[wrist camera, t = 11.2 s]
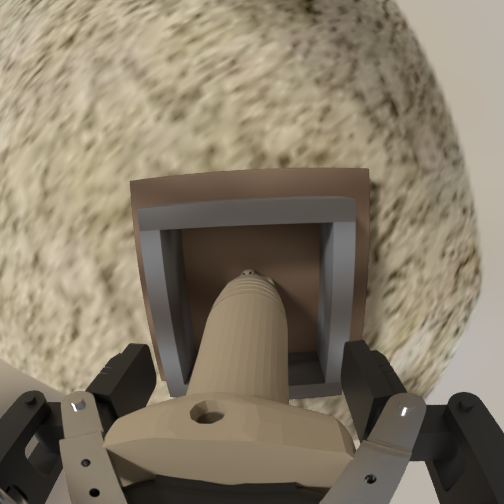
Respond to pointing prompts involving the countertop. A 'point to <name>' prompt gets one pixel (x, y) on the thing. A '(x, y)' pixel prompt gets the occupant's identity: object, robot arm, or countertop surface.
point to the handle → (235, 408)
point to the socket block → (256, 261)
